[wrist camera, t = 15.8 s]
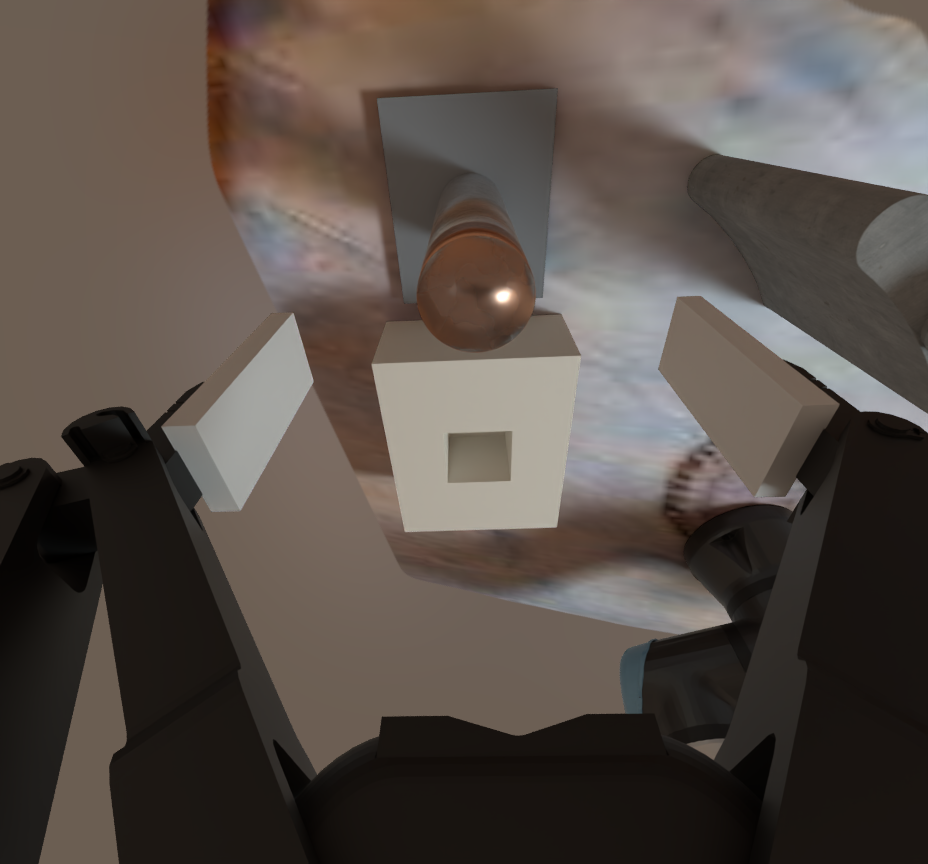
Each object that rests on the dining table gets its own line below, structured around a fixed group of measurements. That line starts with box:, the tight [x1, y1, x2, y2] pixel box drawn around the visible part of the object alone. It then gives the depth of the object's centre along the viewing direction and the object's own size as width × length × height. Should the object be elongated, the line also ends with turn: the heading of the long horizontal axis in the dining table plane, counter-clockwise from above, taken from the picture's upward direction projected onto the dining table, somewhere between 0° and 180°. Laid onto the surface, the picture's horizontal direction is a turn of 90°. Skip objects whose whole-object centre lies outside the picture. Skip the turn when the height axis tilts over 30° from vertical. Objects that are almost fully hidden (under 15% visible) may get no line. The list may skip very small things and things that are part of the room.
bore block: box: [372, 314, 581, 532], centre depth 41 cm, size 20×16×8 cm
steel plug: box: [417, 173, 536, 353], centre depth 25 cm, size 5×5×18 cm
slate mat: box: [377, 88, 558, 304], centre depth 33 cm, size 14×12×1 cm
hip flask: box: [687, 155, 928, 413], centre depth 26 cm, size 16×4×20 cm, turn 48°
